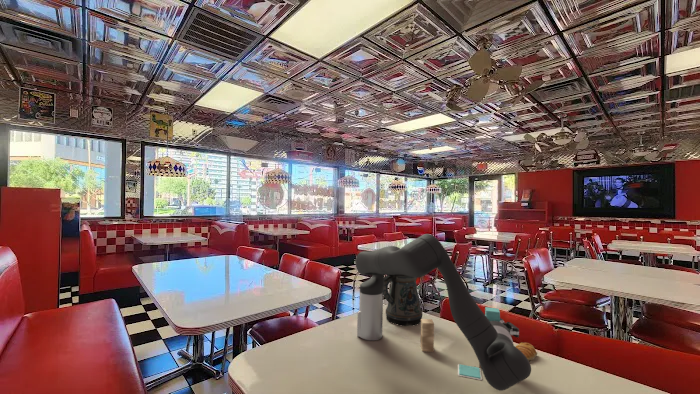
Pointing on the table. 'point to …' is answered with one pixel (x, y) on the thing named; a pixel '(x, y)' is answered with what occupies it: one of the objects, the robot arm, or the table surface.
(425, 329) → the oak block
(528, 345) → the pastry
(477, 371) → the tile
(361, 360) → the table surface
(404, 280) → the beer stein
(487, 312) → the teal block
